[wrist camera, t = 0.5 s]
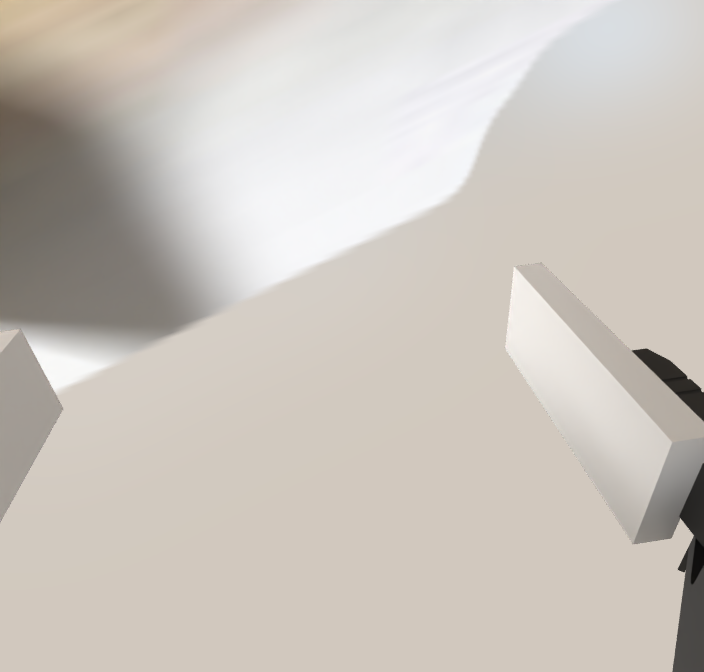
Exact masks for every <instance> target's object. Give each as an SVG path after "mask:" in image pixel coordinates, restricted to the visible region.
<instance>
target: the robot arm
mask: <svg viewBox="0 0 704 672" xmlns="http://www.w3.org/2000/svg"><path fill="white" fill-rule="evenodd" d="M505 349H506V351H507V352H508V354H509V355H510V357H511V358H512V360H513V361H514V363H515V364H516V366H517V367H518V369H519V371H520V372H521V374H522V375H523V377H524V378H525V380H526V381H527V383H528V384H529V386H530V387H531V389H532V390H533V392H534V393H535V395H536V397H537V398H538V400H539V401H540V403H541V404H542V406H543V407H544V409H545V410H546V412H547V413H548V415H549V417H550V418H551V419H552V421H553V423H554V424H555V426H556V427H557V429H558V430H559V432H560V433H561V435H562V436H563V438H564V439H565V441H566V442H567V444H568V446H569V447H570V449H571V450H572V452H573V453H574V455H575V456H576V458H577V459H578V461H579V462H580V464H581V465H582V467H583V468H584V470H585V472H586V473H587V475H588V476H589V478H590V479H591V481H592V482H593V484H594V485H595V487H596V488H597V490H598V491H599V493H600V494H601V496H602V498H603V499H604V501H605V502H606V504H607V505H608V507H609V508H610V510H611V511H612V513H613V514H614V516H615V518H616V519H617V521H618V522H619V524H620V525H621V526H622V528H623V530H624V531H625V533H626V534H627V536H628V537H629V539H630V540H631V542H632V544H638V543H645V542H651V541H658V540H664V539H670V538H672V536H673V533H674V531H675V529H676V527H677V525H678V522H679V520H680V518H681V519H682V521H683V522H684V523H685V524H686V526H687V527H688V528H689V530H690V531H691V532H692V533H693V535H694V537H693V539H692V541H691V543H690V545H689V547H688V549H687V551H686V553H685V555H684V558H683V559H682V562H681V564H680V566H679V568H678V570H679V571H682V572H685V570H686V573H685V581H684V588H683V596H682V603H681V611H680V619H679V626H678V634H677V642H676V649H675V658H674V664H673V672H704V392H702V391H701V388H700V387H699V386H698V385H696V384H695V383H694V382H693V381H692V380H691V379H687V376H686V375H685V374H684V373H683V372H682V371H681V370H680V369H679V368H678V367H677V366H675V365H674V364H673V363H672V362H671V361H670V360H668V359H666V358H664V357H662V356H660V355H658V354H656V353H654V352H652V351H650V350H649V349H640V350H633V351H631V350H630V349H629V348H628V347H627V346H626V345H625V344H624V343H623V342H622V341H621V340H620V339H619V338H618V337H617V336H616V335H615V334H614V333H613V332H612V331H611V330H610V329H609V328H608V327H607V326H606V325H605V324H604V323H603V322H602V321H601V320H599V319H598V318H597V317H596V316H595V315H594V314H593V313H592V312H591V311H590V310H589V309H588V308H587V307H586V306H585V305H584V304H583V303H582V302H581V301H580V300H579V299H578V298H577V297H576V296H575V295H574V294H573V293H572V292H571V291H570V290H569V289H568V288H567V287H566V286H565V285H564V284H563V283H562V282H561V281H560V280H559V279H558V278H557V277H556V276H555V275H554V274H553V273H552V272H550V271H549V270H548V269H547V268H546V267H545V266H544V265H543V264H542V263H536V264H528V265H520V266H514V273H513V282H512V292H511V301H510V310H509V320H508V328H507V337H506V347H505ZM62 410H63V407H62V405H61V403H60V402H59V400H58V398H57V396H56V394H55V392H54V390H53V388H52V387H51V385H50V383H49V381H48V379H47V377H46V375H45V374H44V372H43V370H42V368H41V366H40V364H39V362H38V361H37V359H36V357H35V355H34V353H33V351H32V349H31V348H30V346H29V344H28V342H27V340H26V338H25V336H24V335H23V333H22V331H21V329H16V330H8V331H1V332H0V522H1V520H2V518H3V517H4V514H5V513H6V511H7V509H8V508H9V506H10V504H11V502H12V500H13V498H14V497H15V495H16V493H17V491H18V489H19V488H20V486H21V484H22V482H23V480H24V479H25V477H26V475H27V473H28V471H29V470H30V468H31V466H32V464H33V462H34V460H35V459H36V457H37V455H38V453H39V452H40V450H41V448H42V446H43V444H44V443H45V441H46V439H47V437H48V435H49V434H50V432H51V430H52V428H53V426H54V425H55V423H56V421H57V419H58V417H59V415H60V414H61V412H62Z"/></svg>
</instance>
